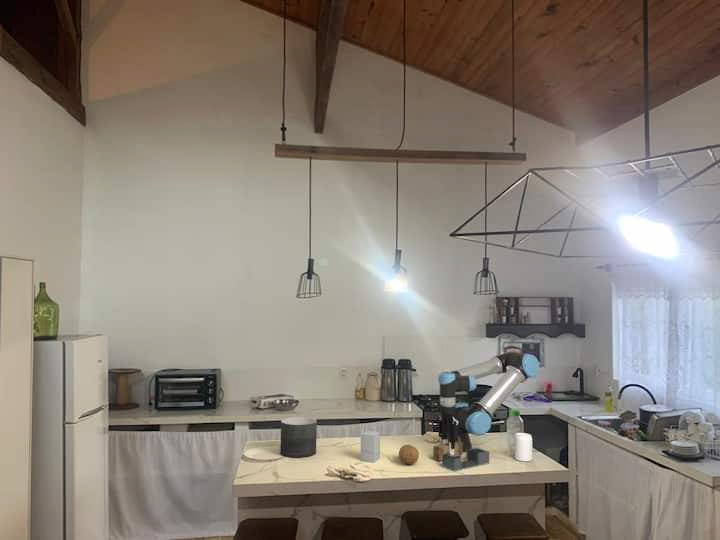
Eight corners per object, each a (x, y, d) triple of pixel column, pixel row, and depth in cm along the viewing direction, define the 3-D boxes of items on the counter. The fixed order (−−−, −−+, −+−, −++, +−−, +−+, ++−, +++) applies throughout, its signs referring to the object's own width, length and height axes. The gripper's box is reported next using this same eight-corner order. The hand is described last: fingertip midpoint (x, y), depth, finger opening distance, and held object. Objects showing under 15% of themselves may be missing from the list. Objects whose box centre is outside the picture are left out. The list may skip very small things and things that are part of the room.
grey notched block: (454, 471, 237) (454, 458, 237) (442, 466, 244) (442, 454, 244) (489, 463, 249) (489, 451, 250) (476, 459, 256) (476, 447, 256)
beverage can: (533, 463, 251) (533, 437, 252) (515, 461, 253) (515, 436, 254) (531, 458, 259) (531, 433, 260) (514, 457, 261) (514, 432, 262)
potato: (415, 458, 256) (415, 441, 256) (421, 467, 242) (421, 450, 243) (395, 459, 255) (395, 442, 256) (400, 468, 241) (400, 450, 242)
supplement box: (380, 458, 255) (380, 432, 256) (374, 462, 249) (374, 435, 249) (366, 456, 258) (366, 430, 259) (360, 460, 252) (360, 433, 252)
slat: (438, 461, 251) (438, 448, 251) (433, 459, 254) (433, 446, 254) (462, 454, 260) (462, 442, 261) (457, 453, 263) (457, 440, 263)
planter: (273, 455, 259) (274, 422, 260) (291, 446, 275) (292, 415, 276) (305, 459, 252) (306, 426, 253) (322, 450, 268) (322, 418, 269)
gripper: (430, 403, 263) (431, 451, 262) (454, 409, 249) (454, 459, 248) (441, 401, 267) (442, 448, 266) (465, 407, 254) (466, 457, 252)
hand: (448, 454), depth 257 cm, fingers closed on slat, 4 cm apart
